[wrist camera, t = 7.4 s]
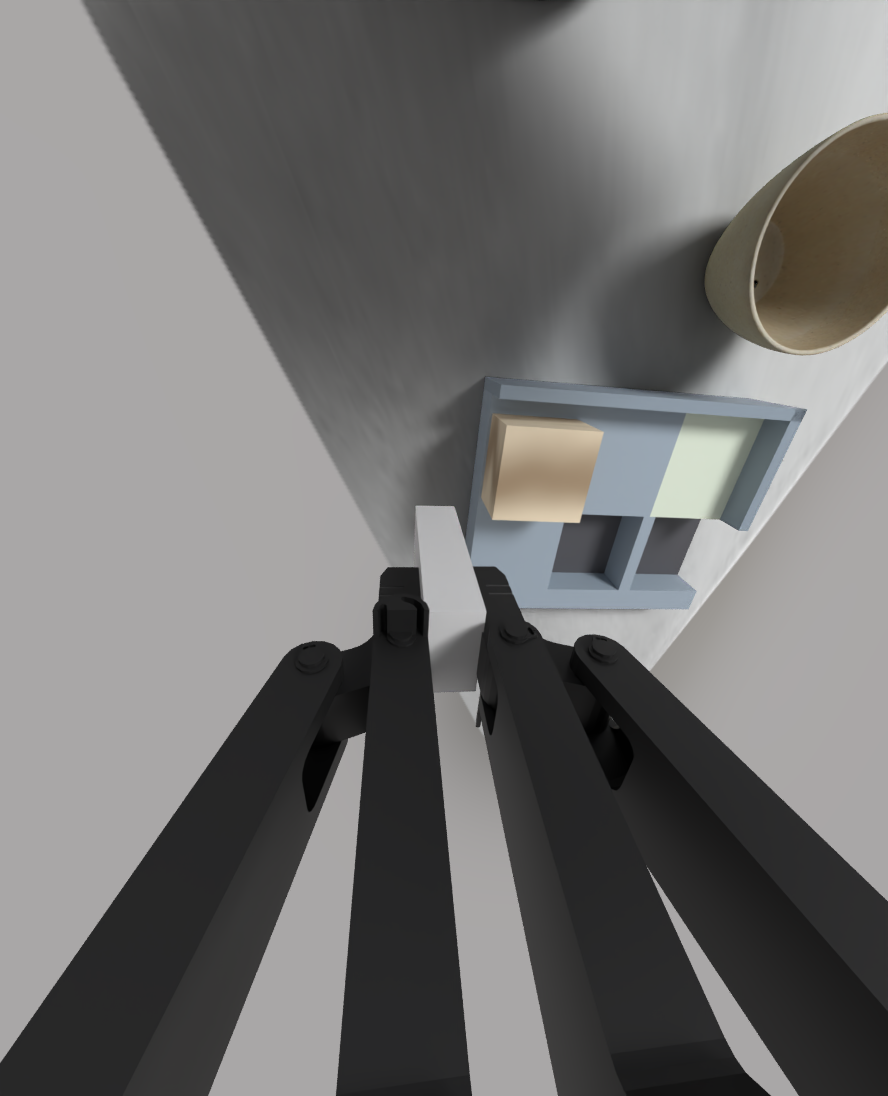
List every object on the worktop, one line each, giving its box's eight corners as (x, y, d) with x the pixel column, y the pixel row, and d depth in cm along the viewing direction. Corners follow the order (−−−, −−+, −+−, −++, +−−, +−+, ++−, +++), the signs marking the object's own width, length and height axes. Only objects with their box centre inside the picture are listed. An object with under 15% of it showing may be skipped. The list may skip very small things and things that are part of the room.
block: (492, 413, 27) (506, 425, 23) (577, 419, 27) (603, 431, 24) (481, 497, 29) (492, 519, 26) (558, 500, 30) (579, 522, 27)
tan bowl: (731, 377, 30) (819, 389, 24) (638, 298, 27) (711, 287, 21) (846, 236, 26) (985, 206, 20) (754, 125, 23) (885, 48, 17)
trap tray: (485, 376, 28) (501, 384, 24) (749, 398, 31) (807, 409, 27) (459, 588, 37) (467, 622, 32) (668, 590, 39) (702, 622, 35)
